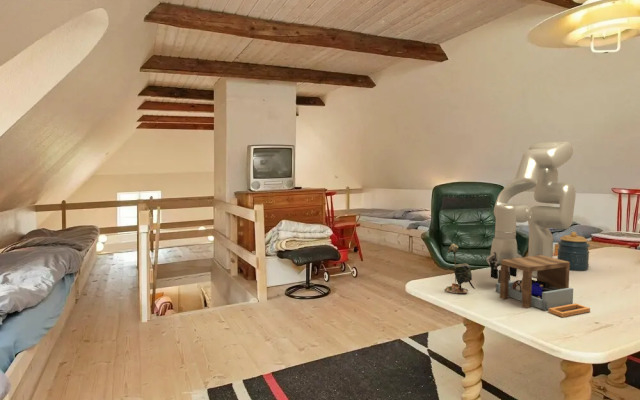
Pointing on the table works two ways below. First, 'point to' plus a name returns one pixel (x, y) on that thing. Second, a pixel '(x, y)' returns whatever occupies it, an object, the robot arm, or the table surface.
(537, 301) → the sled
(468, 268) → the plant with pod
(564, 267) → the small wooden table
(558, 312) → the wooden rectangular frame
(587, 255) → the canister
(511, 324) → the table surface
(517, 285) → the character figurine
